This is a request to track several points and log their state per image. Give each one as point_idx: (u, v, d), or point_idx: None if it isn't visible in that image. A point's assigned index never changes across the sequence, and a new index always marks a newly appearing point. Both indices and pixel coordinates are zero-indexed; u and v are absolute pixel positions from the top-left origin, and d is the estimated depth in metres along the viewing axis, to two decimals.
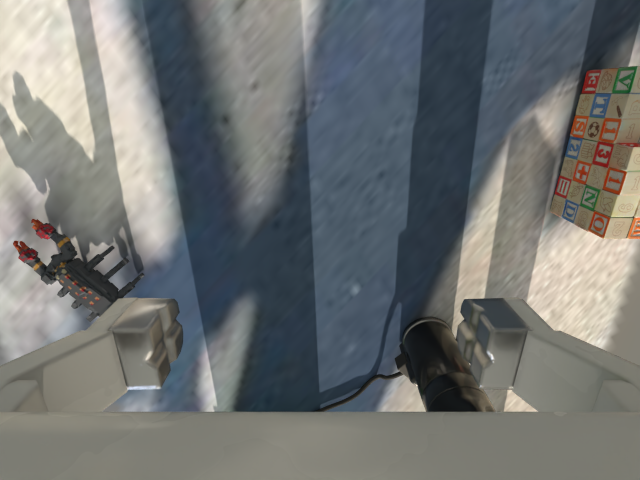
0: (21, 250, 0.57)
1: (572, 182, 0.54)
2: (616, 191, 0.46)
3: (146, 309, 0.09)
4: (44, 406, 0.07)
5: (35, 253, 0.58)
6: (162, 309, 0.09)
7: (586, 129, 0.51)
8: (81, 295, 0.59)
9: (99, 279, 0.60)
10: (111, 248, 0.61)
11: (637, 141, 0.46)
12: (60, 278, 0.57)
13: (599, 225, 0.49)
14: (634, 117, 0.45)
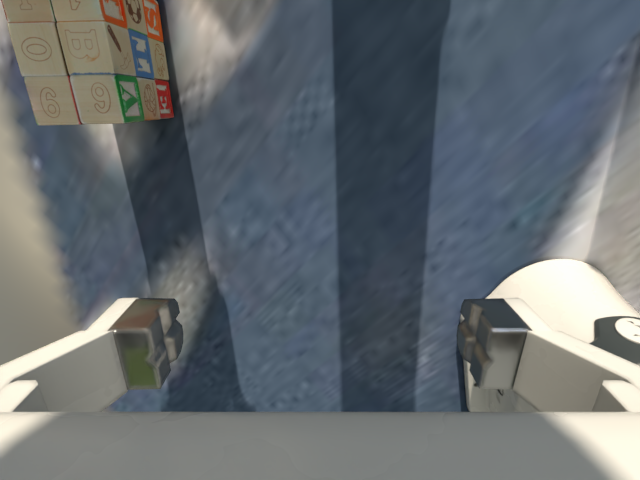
0: None
1: None
2: None
3: (146, 309, 0.09)
4: (43, 406, 0.07)
5: None
6: (162, 309, 0.09)
7: (142, 9, 0.27)
8: None
9: None
10: None
11: None
12: None
13: None
14: (79, 25, 0.22)
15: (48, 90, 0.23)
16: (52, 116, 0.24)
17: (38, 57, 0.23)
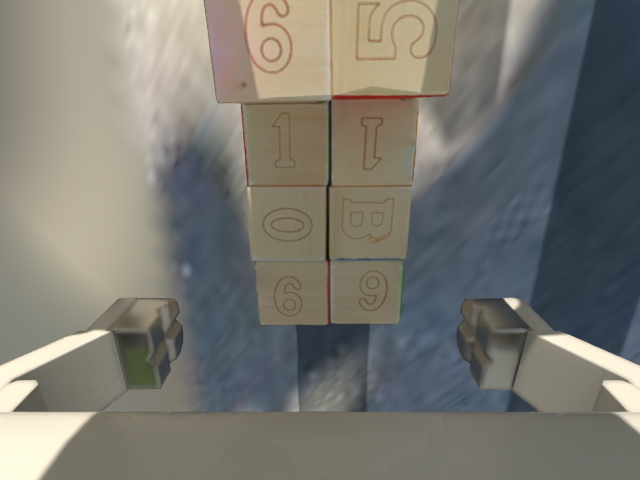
0: None
1: None
2: None
3: (146, 309, 0.09)
4: (43, 406, 0.07)
5: None
6: (162, 309, 0.09)
7: None
8: None
9: None
10: None
11: (334, 105, 0.12)
12: None
13: None
14: (370, 191, 0.13)
15: (290, 280, 0.15)
16: (287, 314, 0.15)
17: (286, 236, 0.14)
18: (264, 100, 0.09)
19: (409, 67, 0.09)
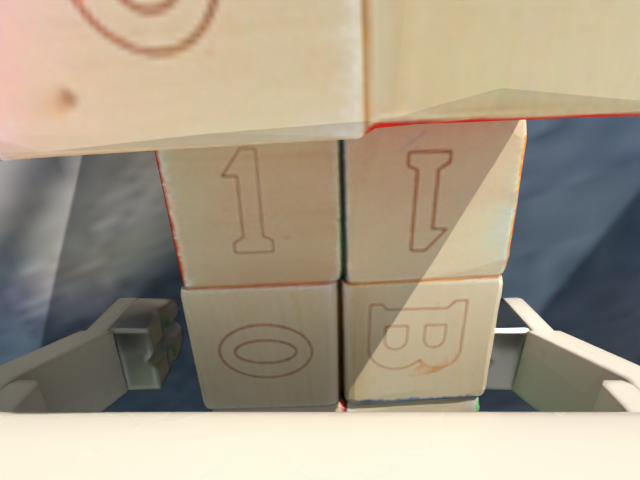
0: None
1: None
2: None
3: (146, 309, 0.09)
4: (44, 406, 0.07)
5: None
6: (162, 309, 0.09)
7: None
8: None
9: None
10: None
11: None
12: None
13: None
14: (423, 290, 0.07)
15: None
16: None
17: (266, 370, 0.07)
18: (146, 146, 0.03)
19: None
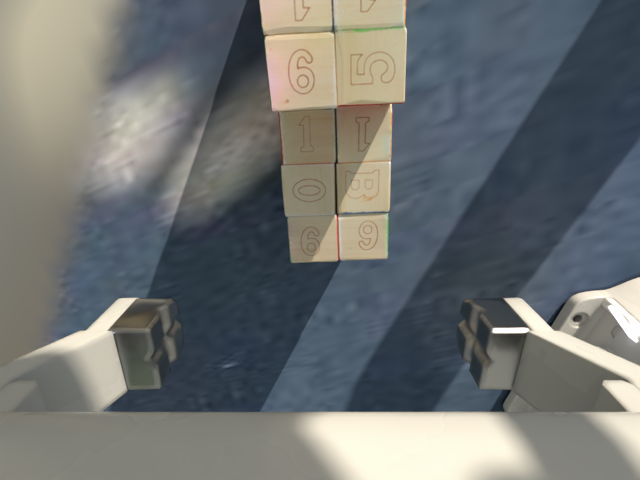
0: None
1: None
2: None
3: (146, 309, 0.09)
4: (43, 406, 0.07)
5: None
6: (162, 309, 0.09)
7: None
8: None
9: None
10: None
11: (338, 110, 0.19)
12: None
13: None
14: (363, 166, 0.20)
15: (311, 229, 0.21)
16: (310, 254, 0.22)
17: (309, 198, 0.21)
18: (299, 109, 0.16)
19: (381, 87, 0.16)
